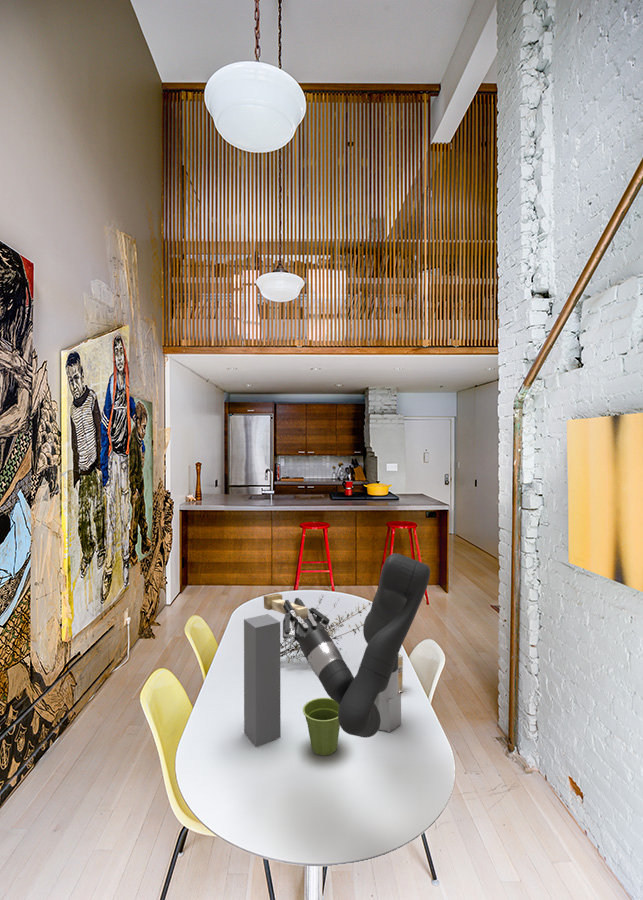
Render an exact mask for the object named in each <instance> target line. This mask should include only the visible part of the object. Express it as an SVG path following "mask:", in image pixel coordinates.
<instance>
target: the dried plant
mask: <svg viewBox="0 0 643 900" xmlns="http://www.w3.org/2000/svg"><path fill="white" fill-rule="evenodd" d="M321 596H322V597H324V596H325V595H324V594H322V593H321ZM322 597H319V600H318V605H317V606H316V608H317V610H319V609H320V608H319V607H318V606H319V605H320V604H321V603H322V600H323V598H322ZM339 601H340V597H339V598H338V600H337V601H335V603H333V609H335V608H336V606H337V604H338V603H337V602H339ZM357 604H358V606H357V607H356V606H355V611H357V613H355V611H351V613H350V614H349V613H347V612H346V611H344V612H345V614H347V615H346V617H344V615H342V616H341V615H339V614H337V617H338V618H335V620H336V621H338V622H336V621H333V622H332V623H330V624H328V626H327V628H326V629H325V630H326V631H327V633H328V634H329V636H330V637H331V639H332V640H335V641H336V640H337V641H339V639H340V640H341V639H343V638H342V636H345V635H346V634H348V633H351V632H353V633H354V636H355V634H357V630H358V632H359V633H360V631H361V630H360V627H363V626H364V623H362V622H361V621H359V623H360V624H361V625H360V626H359V625H358V624H355V627H356V628H355V629H354V628H351V625H350V624H348V627H349V628H350V629H351V630H349V631H347V632H345V633H342V634H340V635H338V636H337V635H336V636H335V633H336V631H337V630H338V631H339V629H340V628H342V627H344V624H343V623H344V622H345V621H349V620H350V618H353V617H354V616H356V615H358V614H359V615H360V617H361V616H362V614H361V613H363V612H362V611H363V610H365V611H367V607H368V606H371V602H370V601H368V604H367V605H366V606H365V603H363V604H362V605H363V606H362V609H361V610H360V605H359V603H357ZM333 609H332V610H333ZM332 610H331V611H332ZM367 612H368V611H367ZM354 613H355V614H354ZM314 615H315V614H314ZM323 615H324V616H326V617H327V618H328V615H326V614H323ZM315 616H316V615H315ZM316 617H317V616H316ZM343 618H344V619H343ZM290 626H291V627H292V624H291V623H290ZM292 630H293V632H295V630H294V628H293V627H292ZM289 640H290V641H289ZM337 641H336V644H337V645H339V643H338V642H337ZM283 644H284V645H283ZM287 646H288V647H287ZM284 648H285V649H284ZM283 649H284V650H283ZM280 650H282V651H280V658H282V657H284V656H286V658H285V659H286V661H287V660H288V661H287V664H289V663H290V661H291V660H295V659H296V660H299V663H300V662H302V661H301V658H302V657H303V658H305V656H304V654H303V653H302V650H301V648H300V645H299V643H298V642H297V641H296V640H295V639H294V637H288V638H287V639H284V638H283V642H282V643H281V642H280ZM338 650H339V652H341V650H342V648H339V647H338ZM292 652H293V654H292ZM295 652H296V653H295ZM294 653H295V654H294ZM291 654H292V655H291ZM345 654H347V652H345ZM291 663H294V662H293V661H291Z"/></svg>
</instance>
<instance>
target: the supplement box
mask: <svg viewBox="0 0 643 900" xmlns="http://www.w3.org/2000/svg"><path fill="white" fill-rule="evenodd" d="M403 658H404V657H403V655H402V653H400V652H399V653H398V692H399V691H402V692H403V681H404V679H403V676H404V675H403V669H404V667H403V665H404V664H403V663H404V662H403V660H404V659H403Z"/></svg>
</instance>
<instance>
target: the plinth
mask: <svg viewBox="0 0 643 900" xmlns="http://www.w3.org/2000/svg"><path fill="white" fill-rule="evenodd" d="M280 643H281V621H279V620H278V619H276V618H275V617H273V616H272V615H270V614H268V613H267V614H262V615H257V616H253V617H248V618H244V619H243V702H244V703H243V720H244V721H243V727H244V728H243V733H244V734H245V736H246V737H247V738H248V740H249V741H250V742H251V743H252V744H253V745H254V747H255V748H257V747H259V746H262V745H266V744H267V743H270V742H273V741H274V740H278V739H280V738H281V657H280V655H281V654H280V652H281V647H280V645H281V644H280Z"/></svg>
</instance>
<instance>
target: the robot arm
mask: <svg viewBox="0 0 643 900" xmlns="http://www.w3.org/2000/svg"><path fill="white" fill-rule="evenodd" d="M430 577H431V569H430V566H429V565H428V564H425V563H423V562H421V561H419V560H416V559H413V558H411V557H408V556H406V555H404V554H403V555H402V554H401V553H396V552H395V553H391V554H390V555H388V556H387V558H386V559H385V561H384V562H383V565H382V568H381V571H380V576H379V582H378V588H377V591H376V592H375V594H374V598H373V599H372V602H371V606H370V611H369V612H368V613H367V615H366V616H365V619H364V622H363V624H364V626H362V627H363V628H362V631H363V638H364V641H365V642H366V644H367V645H366V647H365V649H364V653H363V656H362V659H361V661H360V664H359V666H358V667H359V668H358V671H357V672H356V675H355V676H354V675H353V673H352V671H351V670H350V667H349V666H348V665H347V664H346V661H345V660H344V659H343V656H342V654H341V651H340V649H339V648H338V647H337V645H336V643H335V642H334V641H333V639H332V637H331V636H329V634H328V633H327V632H328V630H326V629H328V625H330V621H331V620H330V619H329V618H328V616H327V615H324V614H323V613H322V612H320V611H318V609H317V608H315V607H311V608H309V607H307V609H308V614H307V617H308V618H304V619H302V618H301V617H300V616H298V615H297V614H296V613H295V611H294V609H293V607H292V605H291V604H290V600H289V599H286V600H284V601H285V603H284V606H283V608H284V610H285V612H286V614H284V618H283V620H282V638H283V640H284V639H286V640H288V639H289V638H288V637H292V638H293V637H294V641H295V640H296V641H295V642H296V643H297V644H299V646H300V649H301V650H302V651H301V650H300V651H301V653H302V655H303V656H304V658H305V659H306V661H307V663H308V664H309V666H310V669H311V670H312V672H313V673H314V675H315V676H316V677H317V678H318V680H319V682H320V684H321V685H322V687H323V689H324V691H325V692H326V694H327V695H328V696H329V698H331V699H333V700H334V701H336V702H337V703H338V704H339V705H340V706H339V711H338V721H339V724H340V728H341V730H343V732H344V733H346V734H348V735H351V736H355V737H360V738H372V737H373V736H374V735H376V734H377V733H378V731H385V732H388V733H390V732H392V731H394V729H396V728H398V727H399V726H400V725H402V693H399V692H398V653H400V650H401V648H402V646H403V643H404V641H405V639H406V637H407V635H408V633H409V630H410V628H411V626H412V625H413V621H414V620H415V617H416V614H417V612H418V610H419V607H420V606H421V604H422V601H423V598H424V596H425V594H426V591H427V588H428V584H429V582H430ZM293 603H294V604H297V605H300V606H303V607H306V605H305V604H304V602H303V600H301V598H299V597H296V598H294V601H293ZM315 615H316V616H315ZM326 616H327V617H326ZM291 624H292V625H291ZM292 627H293V628H294V630H292ZM294 631H295V632H294Z"/></svg>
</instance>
